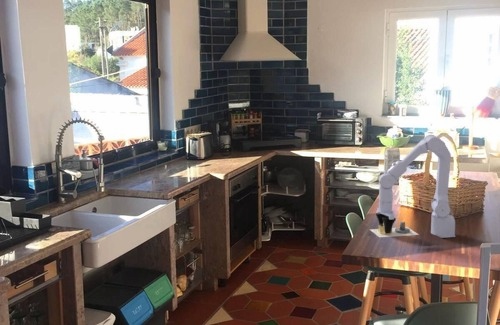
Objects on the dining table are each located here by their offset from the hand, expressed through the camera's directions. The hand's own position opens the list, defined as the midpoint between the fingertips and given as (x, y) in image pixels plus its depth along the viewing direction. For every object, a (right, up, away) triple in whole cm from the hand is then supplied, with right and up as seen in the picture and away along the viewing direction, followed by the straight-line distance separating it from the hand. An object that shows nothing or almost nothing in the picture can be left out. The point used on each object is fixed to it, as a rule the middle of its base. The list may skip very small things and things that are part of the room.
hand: (385, 231), depth 247 cm
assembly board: (+4, -2, +1) cm, 4 cm away
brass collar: (0, -1, 0) cm, 1 cm away
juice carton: (+29, +17, +105) cm, 110 cm away
